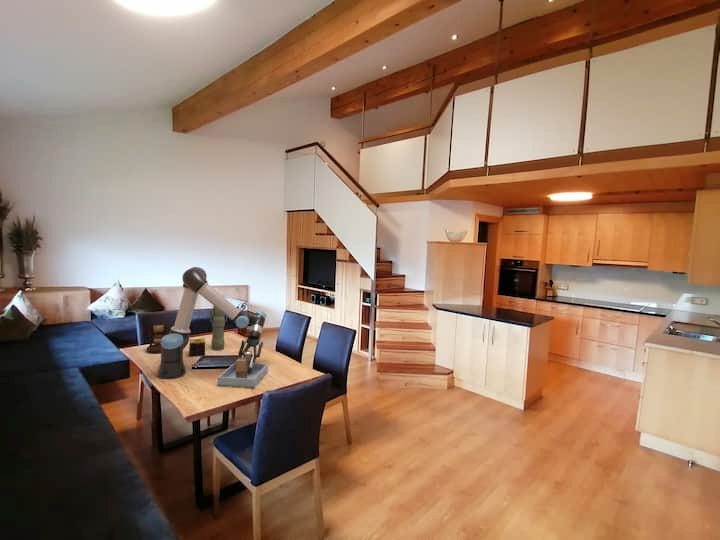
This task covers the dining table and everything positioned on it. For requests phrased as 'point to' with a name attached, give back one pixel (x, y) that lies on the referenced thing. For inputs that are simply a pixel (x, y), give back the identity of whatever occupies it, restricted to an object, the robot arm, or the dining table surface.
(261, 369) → the tray
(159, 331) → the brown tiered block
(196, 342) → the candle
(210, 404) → the dining table surface
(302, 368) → the dining table surface
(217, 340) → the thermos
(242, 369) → the walnut block
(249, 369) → the pepper mill
